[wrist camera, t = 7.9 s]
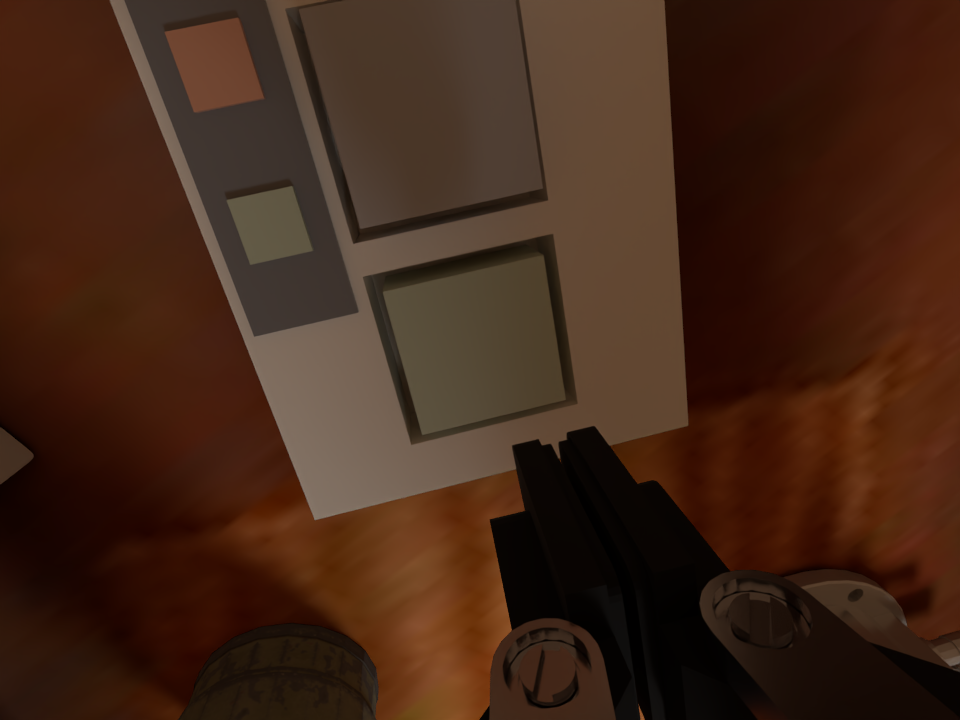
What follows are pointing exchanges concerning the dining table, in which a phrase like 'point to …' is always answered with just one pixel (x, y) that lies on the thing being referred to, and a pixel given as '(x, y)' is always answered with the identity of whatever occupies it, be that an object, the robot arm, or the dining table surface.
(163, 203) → the dining table surface
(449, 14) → the grey key
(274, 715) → the thermos
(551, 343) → the sage key
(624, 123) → the keypad
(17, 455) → the milk carton
